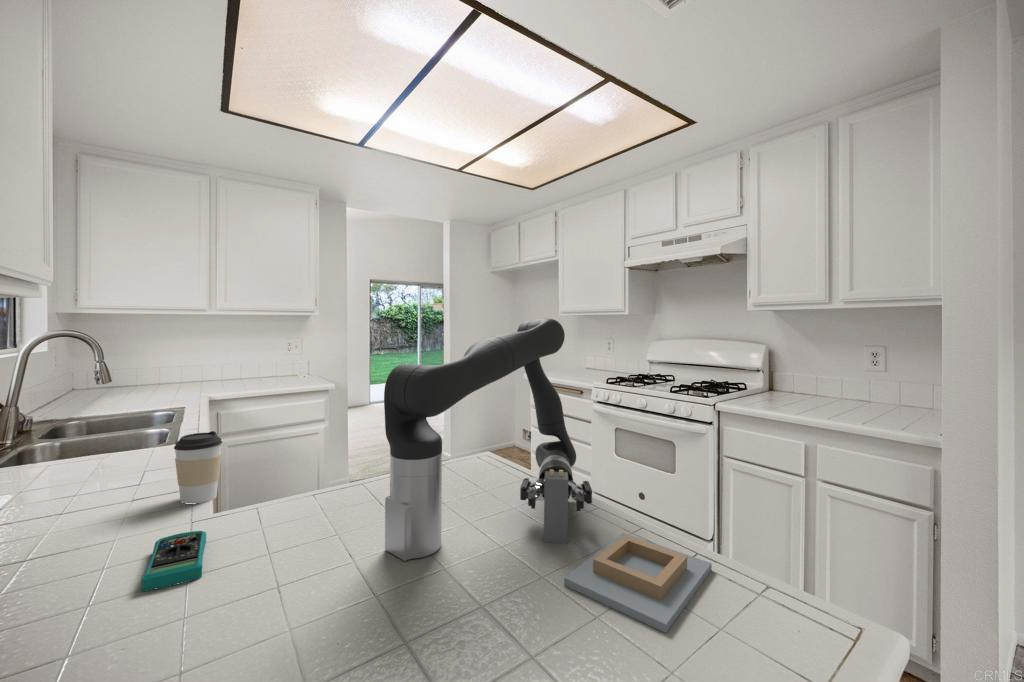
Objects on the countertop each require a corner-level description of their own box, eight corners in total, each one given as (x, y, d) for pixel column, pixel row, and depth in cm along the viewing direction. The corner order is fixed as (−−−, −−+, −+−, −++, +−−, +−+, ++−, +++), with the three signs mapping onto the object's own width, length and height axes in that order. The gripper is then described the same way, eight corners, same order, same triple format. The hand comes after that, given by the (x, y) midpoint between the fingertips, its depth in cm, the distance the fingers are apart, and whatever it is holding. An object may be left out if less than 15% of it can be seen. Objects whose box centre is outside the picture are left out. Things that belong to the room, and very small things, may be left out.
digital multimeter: (206, 542, 80) (206, 526, 80) (201, 581, 68) (201, 562, 68) (155, 552, 76) (155, 536, 76) (140, 596, 64) (140, 577, 64)
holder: (666, 633, 56) (666, 609, 56) (564, 585, 67) (564, 565, 67) (711, 570, 72) (711, 551, 71) (622, 539, 82) (622, 522, 82)
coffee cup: (184, 510, 93) (184, 441, 92) (167, 500, 98) (166, 435, 97) (230, 496, 100) (229, 433, 100) (211, 488, 105) (211, 427, 105)
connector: (543, 542, 80) (544, 473, 80) (544, 531, 85) (545, 466, 85) (567, 543, 80) (568, 474, 80) (566, 532, 84) (567, 467, 84)
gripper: (524, 458, 97) (518, 483, 81) (588, 460, 96) (594, 486, 80) (523, 491, 97) (517, 522, 81) (587, 494, 96) (594, 526, 80)
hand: (556, 504), depth 80 cm, fingers open, 8 cm apart
